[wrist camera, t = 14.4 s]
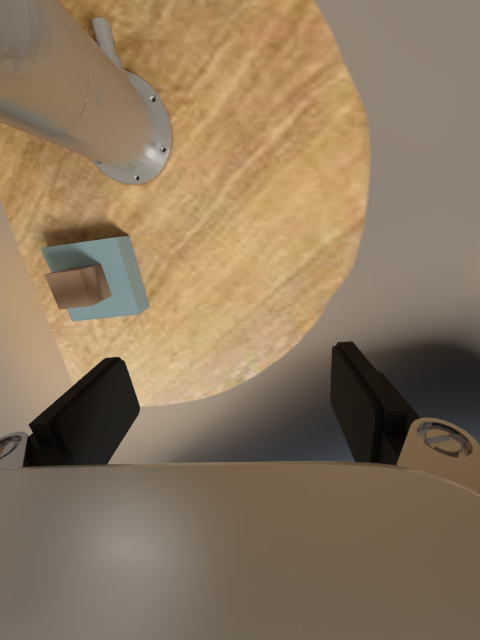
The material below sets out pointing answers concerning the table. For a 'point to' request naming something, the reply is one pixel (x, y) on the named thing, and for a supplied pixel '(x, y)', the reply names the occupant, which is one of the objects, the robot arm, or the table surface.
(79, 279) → the walnut cube
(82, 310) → the plinth block
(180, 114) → the table surface
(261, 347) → the table surface
